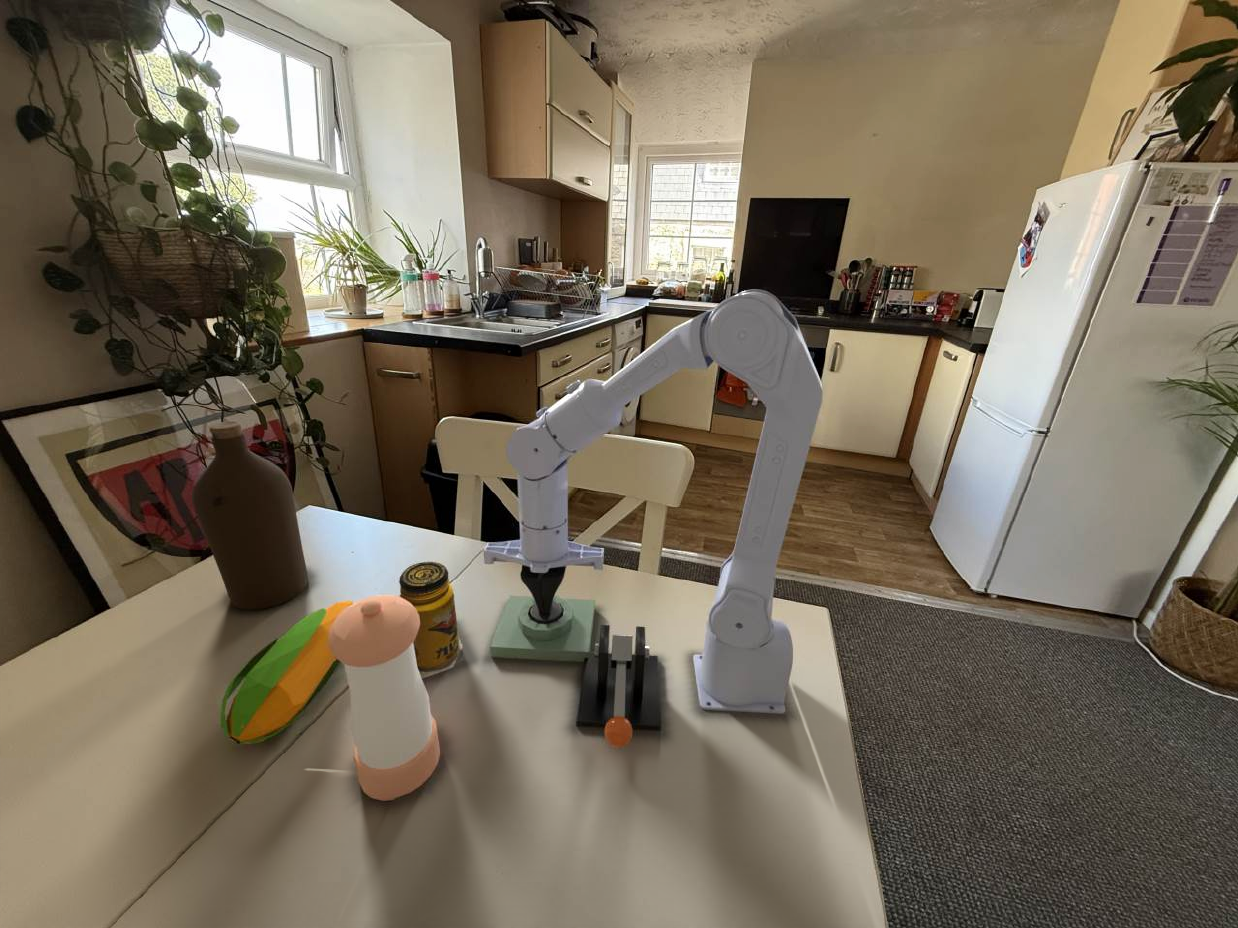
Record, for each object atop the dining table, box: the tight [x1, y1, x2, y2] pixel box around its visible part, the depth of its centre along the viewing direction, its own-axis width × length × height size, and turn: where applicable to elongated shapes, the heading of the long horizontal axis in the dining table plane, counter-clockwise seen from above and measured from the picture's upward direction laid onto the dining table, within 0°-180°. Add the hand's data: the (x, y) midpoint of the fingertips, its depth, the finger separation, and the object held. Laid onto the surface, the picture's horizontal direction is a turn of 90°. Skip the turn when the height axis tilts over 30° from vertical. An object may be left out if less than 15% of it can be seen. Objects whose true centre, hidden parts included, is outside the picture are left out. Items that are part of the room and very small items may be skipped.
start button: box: [530, 601, 562, 624], centre depth 64 cm, size 4×4×2 cm
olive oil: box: [191, 421, 309, 611], centre depth 67 cm, size 11×11×25 cm
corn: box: [219, 600, 354, 746], centre depth 55 cm, size 7×8×20 cm
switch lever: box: [603, 634, 633, 749], centre depth 52 cm, size 11×3×3 cm, turn 179°
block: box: [489, 595, 596, 663], centre depth 65 cm, size 12×10×4 cm
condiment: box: [398, 561, 464, 680], centre depth 59 cm, size 7×8×12 cm
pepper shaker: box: [328, 594, 441, 802], centre depth 44 cm, size 7×7×19 cm
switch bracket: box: [575, 624, 662, 732], centre depth 56 cm, size 10×9×8 cm
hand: (545, 610), depth 64 cm, fingers closed, pressing on start button
